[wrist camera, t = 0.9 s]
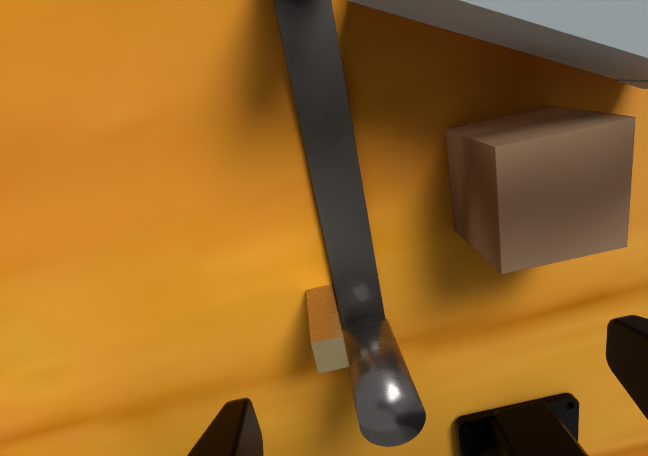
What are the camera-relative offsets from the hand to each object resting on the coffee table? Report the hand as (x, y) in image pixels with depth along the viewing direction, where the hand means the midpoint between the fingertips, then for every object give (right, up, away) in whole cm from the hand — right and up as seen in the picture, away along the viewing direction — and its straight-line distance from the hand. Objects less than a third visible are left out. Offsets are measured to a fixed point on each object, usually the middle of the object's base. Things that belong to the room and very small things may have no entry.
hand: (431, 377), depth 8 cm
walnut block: (+6, +5, +10) cm, 13 cm away
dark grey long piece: (-2, +5, +10) cm, 11 cm away
